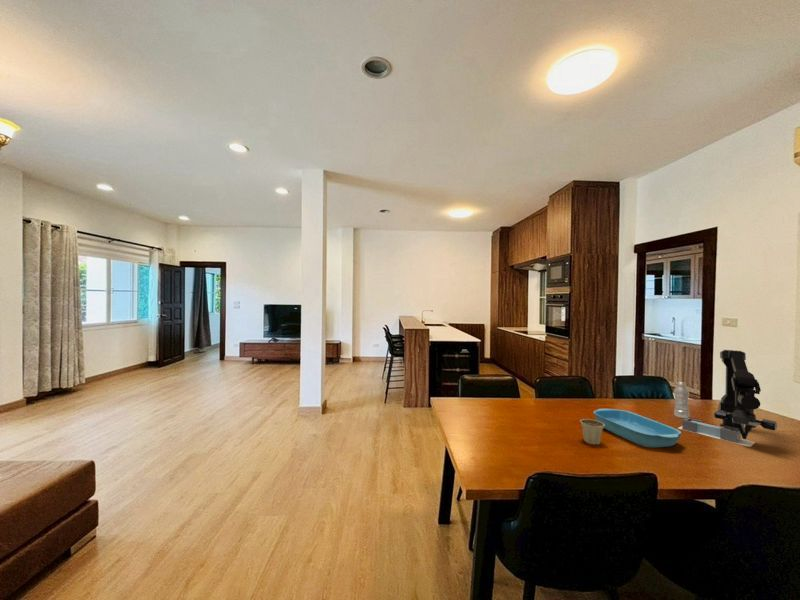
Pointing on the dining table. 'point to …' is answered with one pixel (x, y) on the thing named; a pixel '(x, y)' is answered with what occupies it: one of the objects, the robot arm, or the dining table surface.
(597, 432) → the flower pot
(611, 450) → the dining table surface
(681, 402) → the plastic bottle
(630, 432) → the casserole dish
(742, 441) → the board
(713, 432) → the slat
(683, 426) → the cap fixed
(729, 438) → the cap sliding
